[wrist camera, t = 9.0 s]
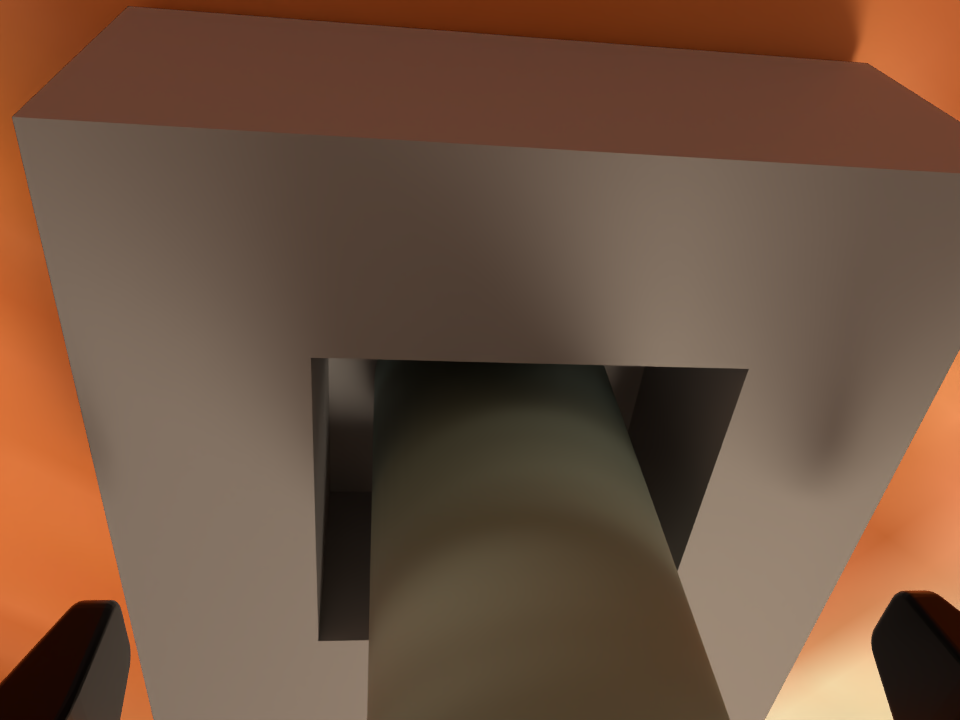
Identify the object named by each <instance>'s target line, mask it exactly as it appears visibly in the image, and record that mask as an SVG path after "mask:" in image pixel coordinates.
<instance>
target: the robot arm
mask: <svg viewBox="0 0 960 720" xmlns="http://www.w3.org/2000/svg"><path fill="white" fill-rule="evenodd" d="M871 644H872V651H873V655H874V658H875V662H876V665H877V668H878V671H879V674H880V678H881V681H882V684H883V687H884V691H885V694H886V697H887V700H888V703H889V707H890V710H891V713H892V716H893V720H960V611H959V610H958V609H956V608H955V607H954V606H952V605H951V604H950V603H949V602H947V601H946V600H945V599H943V598H942V597H941V596H939V595H938V594H936V593H934V592H931V591H900V592H899V593H897V594H895V595H894V597H893V598H892V600H891V601H890V603H889V605H888V606H887V608H886V610H885V611H884V613H883V615H882V616H881V618H880V620H879V621H878V623H877V625H876V627H875V628H874V630H873V633H872V640H871ZM129 667H130V644H129V640H128V636H127V632H126V628H125V623H124V619H123V615H122V611H121V608H120V606H119V604H118V603H117V602H116V601H113V600H84V601H80V602H78V603H76V604H74V605H73V606H72V607H71V608H70V609H69V610H68V611H67V612H66V613H65V614H64V615H63V616H62V617H61V618H60V619H59V620H58V622H57V623H56V624H55V625H54V626H53V627H52V628H51V629H50V630H49V631H48V632H47V633H46V635H45V636H44V637H43V638H42V639H41V640H40V641H39V642H38V643H37V644H36V645H35V646H34V648H33V649H32V650H31V651H30V652H29V653H28V654H27V655H26V656H25V657H24V658H23V659H22V661H21V662H20V663H19V664H18V665H17V666H16V667H15V668H14V669H13V670H12V671H11V672H10V674H9V675H8V676H7V677H6V678H5V679H4V680H3V681H2V682H1V683H0V720H120V717H121V712H122V706H123V700H124V695H125V689H126V684H127V678H128V673H129Z"/></svg>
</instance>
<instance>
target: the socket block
mask: <svg viewBox="0 0 960 720" xmlns="http://www.w3.org/2000/svg"><path fill="white" fill-rule="evenodd" d="M12 119H13V123H14V127H15V132H16V136H17V140H18V144H19V149H20V153H21V157H22V161H23V166H24V170H25V174H26V179H27V183H28V187H29V191H30V196H31V200H32V204H33V208H34V213H35V217H36V221H37V225H38V230H39V234H40V238H41V242H42V247H43V251H44V255H45V259H46V264H47V268H48V272H49V276H50V281H51V285H52V289H53V293H54V298H55V302H56V306H57V310H58V315H59V319H60V323H61V327H62V332H63V336H64V340H65V344H66V349H67V353H68V357H69V361H70V366H71V370H72V374H73V378H74V383H75V387H76V391H77V395H78V400H79V404H80V408H81V412H82V417H83V421H84V425H85V429H86V434H87V438H88V442H89V447H90V451H91V455H92V459H93V464H94V468H95V472H96V476H97V481H98V485H99V489H100V493H101V498H102V502H103V506H104V510H105V515H106V519H107V523H108V527H109V532H110V536H111V540H112V544H113V549H114V553H115V557H116V561H117V566H118V570H119V574H120V578H121V583H122V587H123V591H124V595H125V600H126V604H127V608H128V612H129V617H130V621H131V625H132V629H133V634H134V638H135V642H136V646H137V651H138V655H139V659H140V663H141V668H142V672H143V676H144V680H145V685H146V689H147V693H148V697H149V702H150V706H151V710H152V714H153V719H154V720H367V701H368V654H369V607H370V560H371V513H372V466H373V419H374V377H375V368H376V363H377V360H378V359H382V360H421V361H460V362H499V363H538V364H577V365H604V367H605V370H606V373H607V375H608V378H609V381H610V384H611V387H612V389H613V392H614V395H615V398H616V401H617V403H618V406H619V409H620V412H621V415H622V417H623V420H624V423H625V426H626V429H627V432H628V434H629V437H630V440H631V443H632V446H633V448H634V451H635V454H636V457H637V460H638V462H639V465H640V468H641V471H642V474H643V476H644V479H645V482H646V485H647V488H648V491H649V493H650V496H651V499H652V502H653V505H654V507H655V510H656V513H657V516H658V519H659V521H660V524H661V527H662V530H663V533H664V535H665V538H666V541H667V544H668V547H669V550H670V552H671V555H672V558H673V561H674V564H675V566H676V569H677V572H678V575H679V578H680V580H681V583H682V586H683V589H684V592H685V594H686V597H687V600H688V603H689V606H690V609H691V611H692V614H693V617H694V620H695V623H696V625H697V628H698V631H699V634H700V637H701V639H702V642H703V645H704V648H705V651H706V653H707V656H708V659H709V662H710V665H711V668H712V670H713V673H714V676H715V679H716V682H717V684H718V687H719V690H720V693H721V696H722V698H723V701H724V704H725V707H726V710H727V712H728V715H729V718H730V720H765V718H766V716H767V714H768V712H769V711H770V709H771V707H772V705H773V703H774V701H775V699H776V697H777V695H778V693H779V692H780V690H781V688H782V686H783V684H784V682H785V680H786V678H787V676H788V674H789V673H790V671H791V669H792V667H793V665H794V663H795V661H796V659H797V657H798V656H799V654H800V652H801V650H802V648H803V646H804V644H805V642H806V640H807V638H808V637H809V635H810V633H811V631H812V629H813V627H814V625H815V623H816V621H817V619H818V618H819V616H820V614H821V612H822V610H823V608H824V606H825V604H826V602H827V600H828V599H829V597H830V595H831V593H832V591H833V589H834V587H835V585H836V583H837V581H838V580H839V578H840V576H841V574H842V572H843V570H844V568H845V566H846V564H847V562H848V561H849V559H850V557H851V555H852V553H853V551H854V549H855V547H856V545H857V543H858V542H859V540H860V538H861V536H862V534H863V532H864V530H865V528H866V526H867V524H868V523H869V521H870V519H871V517H872V515H873V513H874V511H875V509H876V507H877V505H878V504H879V502H880V500H881V498H882V496H883V494H884V492H885V490H886V488H887V486H888V485H889V483H890V481H891V479H892V477H893V475H894V473H895V471H896V469H897V467H898V466H899V464H900V462H901V460H902V458H903V456H904V454H905V452H906V450H907V448H908V447H909V445H910V443H911V441H912V439H913V437H914V435H915V433H916V431H917V429H918V428H919V426H920V424H921V422H922V420H923V418H924V416H925V414H926V412H927V410H928V409H929V407H930V405H931V403H932V401H933V399H934V397H935V395H936V393H937V391H938V390H939V388H940V386H941V384H942V382H943V380H944V378H945V376H946V374H947V373H948V371H949V369H950V367H951V365H952V363H953V361H954V359H955V357H956V355H957V354H958V352H959V350H960V122H959V121H958V120H956V119H955V118H953V117H951V116H950V115H948V114H947V113H945V112H944V111H942V110H940V109H939V108H937V107H936V106H934V105H933V104H931V103H929V102H928V101H926V100H925V99H923V98H921V97H920V96H918V95H917V94H915V93H914V92H912V91H910V90H909V89H907V88H906V87H904V86H903V85H901V84H899V83H898V82H896V81H895V80H893V79H892V78H890V77H888V76H887V75H885V74H884V73H882V72H881V71H879V70H877V69H876V68H874V67H873V66H871V65H870V64H868V63H858V62H845V61H832V60H819V59H806V58H793V57H780V56H767V55H754V54H741V53H729V52H716V51H703V50H690V49H677V48H664V47H651V46H638V45H625V44H612V43H599V42H586V41H573V40H560V39H547V38H534V37H521V36H508V35H495V34H482V33H469V32H456V31H443V30H430V29H417V28H404V27H392V26H379V25H366V24H353V23H340V22H327V21H314V20H301V19H288V18H275V17H262V16H249V15H236V14H223V13H210V12H197V11H184V10H171V9H158V8H145V7H132V6H128V7H127V8H126V9H125V10H124V11H123V12H122V13H121V14H120V15H118V16H117V17H116V18H115V19H114V20H113V21H112V22H111V23H110V24H109V25H108V26H107V27H106V28H105V29H104V30H103V31H102V32H101V33H100V34H99V35H97V36H96V37H95V38H94V39H93V40H92V41H91V42H90V43H89V44H88V45H87V46H86V47H85V48H84V49H83V50H82V51H81V52H80V53H79V54H77V55H76V56H75V57H74V58H73V59H72V60H71V61H70V62H69V63H68V64H67V65H66V66H65V67H64V68H63V69H62V70H61V71H60V72H59V73H58V74H56V75H55V76H54V77H53V78H52V79H51V80H50V81H49V82H48V83H47V84H46V85H45V86H44V87H43V88H42V89H41V90H40V91H39V92H38V93H37V94H35V95H34V96H33V97H32V98H31V99H30V100H29V101H28V102H27V103H26V104H25V105H24V106H23V107H22V108H21V109H20V110H19V111H18V112H17V113H16V114H14V115H13V116H12Z"/></svg>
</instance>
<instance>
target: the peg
mask: <svg viewBox="0 0 960 720" xmlns="http://www.w3.org/2000/svg"><path fill="white" fill-rule="evenodd" d="M367 720H730V718H729V715H728V712H727V710H726V707H725V704H724V701H723V698H722V696H721V693H720V690H719V687H718V684H717V682H716V679H715V676H714V673H713V670H712V668H711V665H710V662H709V659H708V656H707V653H706V651H705V648H704V645H703V642H702V639H701V637H700V634H699V631H698V628H697V625H696V623H695V620H694V617H693V614H692V611H691V609H690V606H689V603H688V600H687V597H686V594H685V592H684V589H683V586H682V583H681V580H680V578H679V575H678V572H677V569H676V566H675V564H674V561H673V558H672V555H671V552H670V550H669V547H668V544H667V541H666V538H665V535H664V533H663V530H662V527H661V524H660V521H659V519H658V516H657V513H656V510H655V507H654V505H653V502H652V499H651V496H650V493H649V491H648V488H647V485H646V482H645V479H644V476H643V474H642V471H641V468H640V465H639V462H638V460H637V457H636V454H635V451H634V448H633V446H632V443H631V440H630V437H629V434H628V432H627V429H626V426H625V423H624V420H623V417H622V415H621V412H620V409H619V406H618V403H617V401H616V398H615V395H614V392H613V389H612V387H611V384H610V381H609V378H608V375H607V373H606V370H605V367H604V365H577V364H538V363H499V362H460V361H421V360H382V359H378V360H377V363H376V368H375V377H374V419H373V466H372V513H371V560H370V607H369V654H368V701H367Z"/></svg>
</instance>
